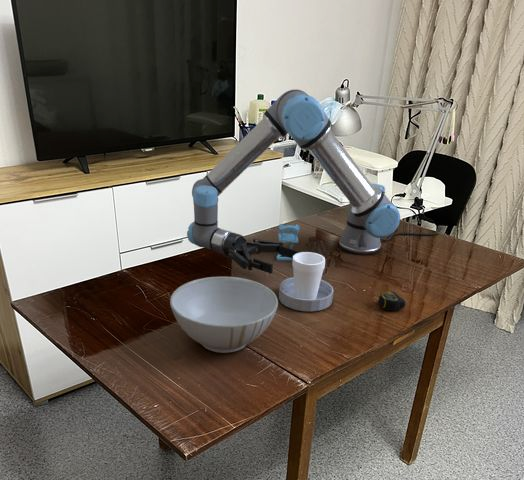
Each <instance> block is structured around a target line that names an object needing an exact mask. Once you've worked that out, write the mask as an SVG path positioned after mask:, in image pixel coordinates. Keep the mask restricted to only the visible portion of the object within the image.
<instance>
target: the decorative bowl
mask: <svg viewBox="0 0 524 480" xmlns="http://www.w3.org/2000/svg"><path fill="white" fill-rule="evenodd" d="M169 304H170V308H171V312H172V314H173V316H174V318H175V320H176V322H177V323H178V325H179V326H180V328H181V329H182V330H183V331H184V333H186V335H187V336H189V337H190V338H191V339H192V340H193V341H195V342H196V343H198V344H200V345H202V346H203V347H204V348H205V349H207V350H209V351H212V352H213V353H214V352H215V353H222V354H228V353H234V352H237V351H241V350H242V349H243V348H245V347H246V346H247V345H248V344H250V343H253V342H254V341H255V340H257V339H258V338H259V337H261V335H262V334H263V333H264V332H265V331H266V330H267V329H268V327H269V326H270V324H271V323H272V321H273V319H274V318H275V315H276V313H277V310H278V307H279V299H278V296H277V295H276V293H275V292H274V291H273V290H272V289H271V288H269V287H267V286H266V285H265V284H262V283H261V282H259V281H254V280H251V279H249V278H242V277H237V276H236V277H235V276H209V277H203V278H197V279H194V280H191V281H188V282H185V283H184V284H182V285H180V286H179V287H177V288H176V289H175V290H174V291H173V292H172V294H171V296H170V298H169Z"/></svg>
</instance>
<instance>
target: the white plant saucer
mask: <svg viewBox="0 0 524 480" xmlns="http://www.w3.org/2000/svg"><path fill="white" fill-rule="evenodd" d="M334 292H335V291H334V287H333V286H332V285H331V283H329V282H328V281H325V280H323V279H321V281H320V285H319V289H318V293H317V297H316V299H314V300H307V299H299V298H295V294H294V276H292V277H287V278H286V279H284V280H282V281H281V282H280V283H279V288H278V301H280V303H281V304H282V305H283V306H285V307H287V308H289V309H291V310H295V311H300V312H319V311H322V310H323V311H324V310H326V309H328V308H329V307H331V305H332V304H333V299H334Z"/></svg>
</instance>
